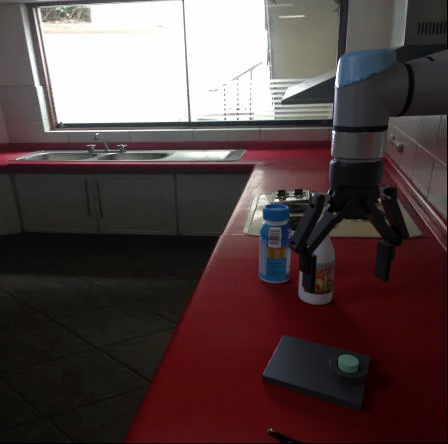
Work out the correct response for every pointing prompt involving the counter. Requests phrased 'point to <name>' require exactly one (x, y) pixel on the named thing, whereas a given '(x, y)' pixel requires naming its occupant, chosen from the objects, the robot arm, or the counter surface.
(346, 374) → the scale
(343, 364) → the button
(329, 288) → the milk bottle
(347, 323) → the counter surface
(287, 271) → the beverage bottle
